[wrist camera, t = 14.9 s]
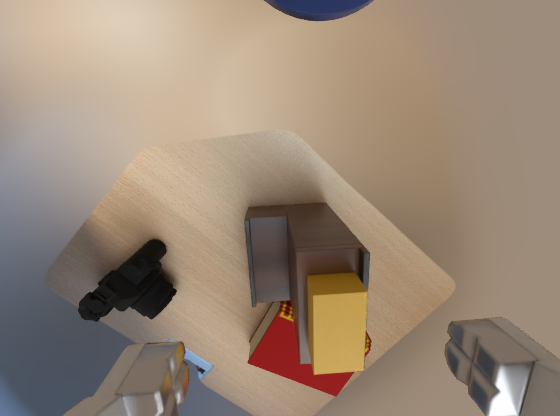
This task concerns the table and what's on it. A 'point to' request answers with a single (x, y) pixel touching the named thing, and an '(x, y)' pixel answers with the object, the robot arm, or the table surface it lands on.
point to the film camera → (132, 286)
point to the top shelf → (324, 263)
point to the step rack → (287, 246)
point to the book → (290, 351)
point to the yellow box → (336, 322)
